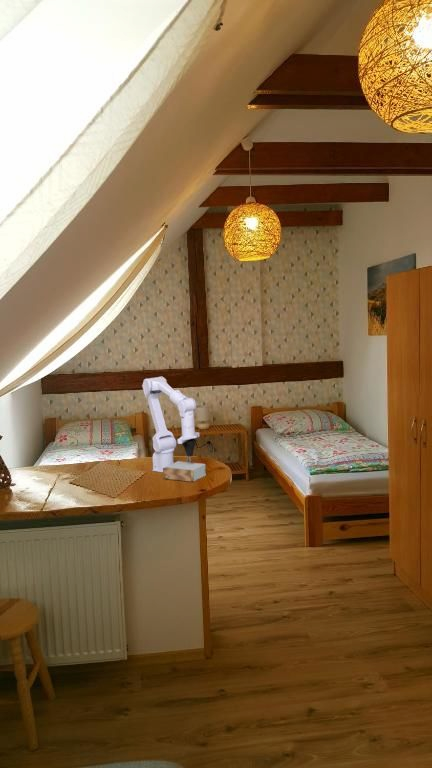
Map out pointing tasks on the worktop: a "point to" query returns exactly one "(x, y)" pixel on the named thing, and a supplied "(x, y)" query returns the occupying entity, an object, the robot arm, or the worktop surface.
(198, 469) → the cabinet
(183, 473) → the door
